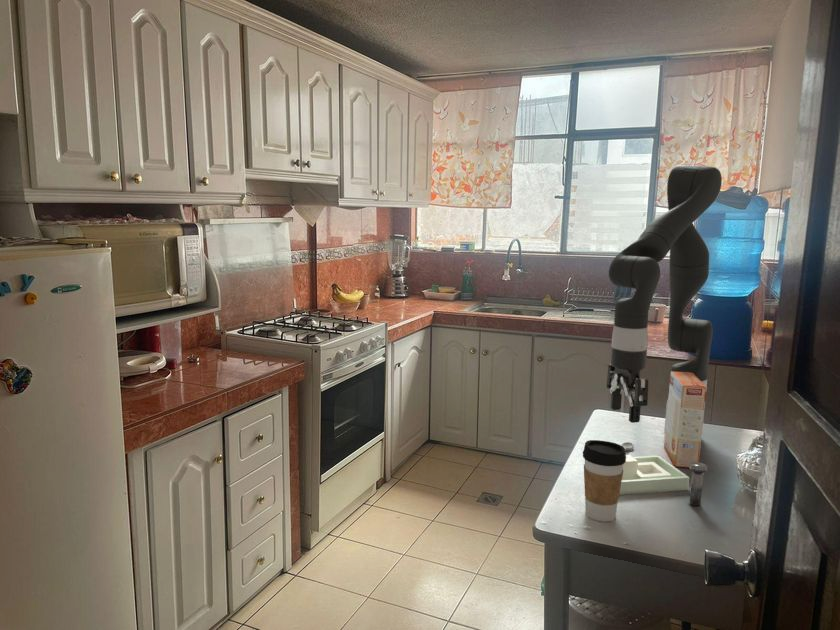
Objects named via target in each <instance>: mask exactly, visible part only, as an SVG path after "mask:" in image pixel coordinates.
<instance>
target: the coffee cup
mask: <svg viewBox="0 0 840 630" xmlns="http://www.w3.org/2000/svg"><path fill="white" fill-rule="evenodd" d="M626 455H627V454H626V451H625V449H624V447H622V444H618V443H616V442H613V441H606V440H597V439H590V440H589V439H588V440H587V441H585V443H584V446H583V451H582V458H583V459H584V465H583V476H584V477H583V478H584V484H583V485H584V502H585V503H584V504H585V505H584V507H585V514H586V516H587V517H588V518H589V519H592V520H593V521H597V522H604V523H605V522H606V523H607V522H611V521H613V520H615V519H616V514H617V509H618V503H619V499H620V495H619V493H620V487H621V482H622V476H623V464H624V463H625V462H626Z"/></svg>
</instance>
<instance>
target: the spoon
mask: <svg viewBox="0 0 840 630" xmlns="http://www.w3.org/2000/svg"><path fill="white" fill-rule="evenodd" d="M621 446H622V447H624V449H625V452H630V451H632V450H634V446H635V445H634V443H632V442H629V441H627V442H623V443H622V444H621Z"/></svg>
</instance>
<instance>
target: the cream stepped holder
mask: <svg viewBox="0 0 840 630" xmlns="http://www.w3.org/2000/svg"><path fill="white" fill-rule="evenodd" d="M625 455H626V462H625V463H624V464H623V476H622V480H635V479H650V478H665V477H671V476H672V475H671V474H669V473H668V472H667V471H665V470H664V469H663V468H661V467H660V466H659V465H657V464H656V463H654V462H643V463H638V461H637V460H636V459H635V458H633V457H634V456H632V455H631V454H625ZM649 472H651V473H652V474H643V473H649Z"/></svg>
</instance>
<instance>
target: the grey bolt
mask: <svg viewBox="0 0 840 630" xmlns="http://www.w3.org/2000/svg"><path fill="white" fill-rule="evenodd" d="M689 469H690V470H691V471H692V472H691V482H690V493H689V504H688V505H689V506H691V507H692V508H701V505H702V494H703V483H704V475H705V473H707V469H708V466H707V464H705V463H703V462H700V461H699V462H692V463H690V468H689Z"/></svg>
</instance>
